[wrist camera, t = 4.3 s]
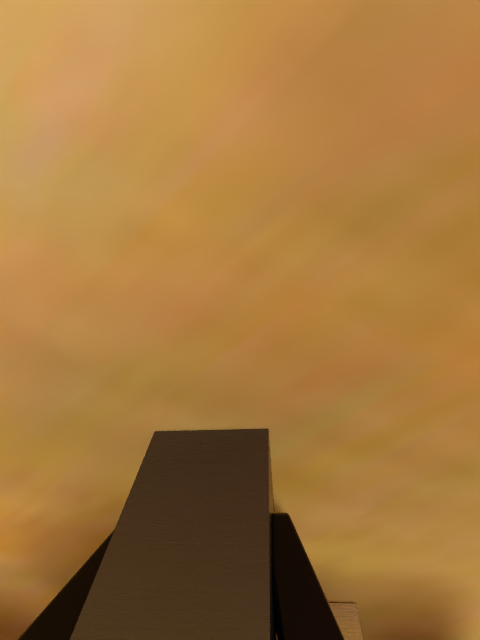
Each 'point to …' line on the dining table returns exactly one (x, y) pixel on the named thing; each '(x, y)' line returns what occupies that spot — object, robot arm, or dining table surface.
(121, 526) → the grey angular piece
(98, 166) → the dining table surface
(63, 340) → the dining table surface
